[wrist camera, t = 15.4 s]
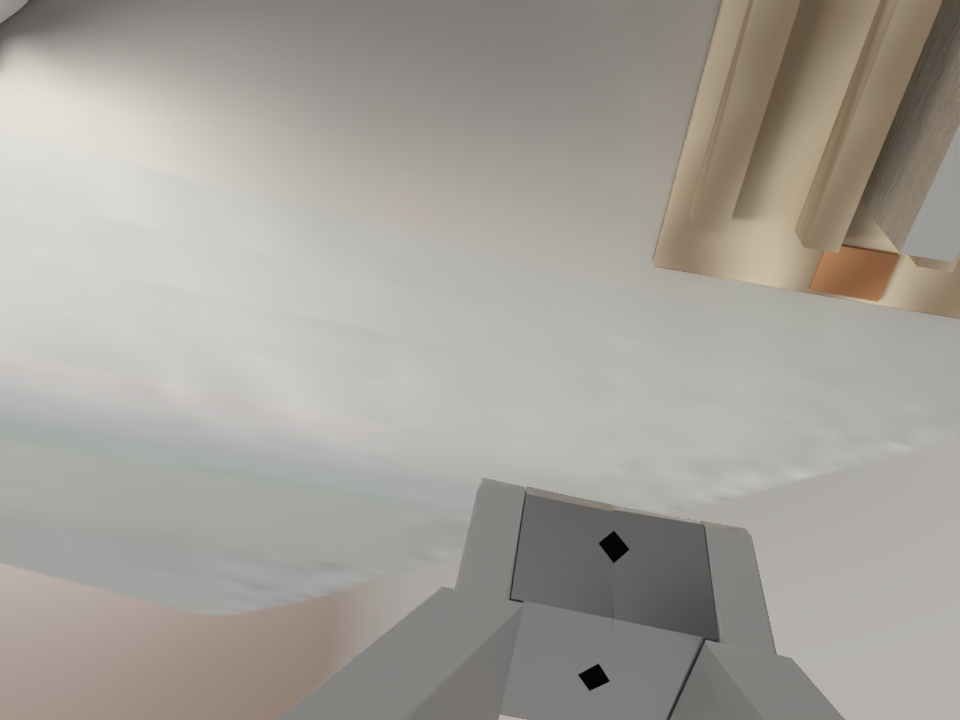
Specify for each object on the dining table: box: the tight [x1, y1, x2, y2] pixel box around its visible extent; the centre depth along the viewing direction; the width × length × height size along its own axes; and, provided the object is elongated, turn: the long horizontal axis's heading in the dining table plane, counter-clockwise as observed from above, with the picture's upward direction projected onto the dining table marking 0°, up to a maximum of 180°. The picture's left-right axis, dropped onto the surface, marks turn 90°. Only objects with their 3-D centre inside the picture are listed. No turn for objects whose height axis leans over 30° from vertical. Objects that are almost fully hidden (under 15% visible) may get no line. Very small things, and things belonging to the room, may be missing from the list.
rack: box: [653, 0, 960, 319], centre depth 30 cm, size 18×22×3 cm
